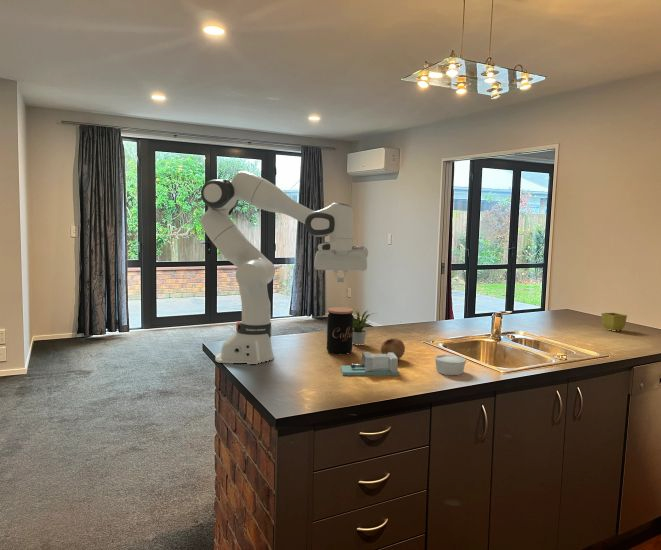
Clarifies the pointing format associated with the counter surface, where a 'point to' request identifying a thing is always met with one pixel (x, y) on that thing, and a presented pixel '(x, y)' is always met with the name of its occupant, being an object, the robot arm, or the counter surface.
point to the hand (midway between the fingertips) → (340, 281)
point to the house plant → (359, 328)
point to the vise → (360, 371)
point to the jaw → (365, 362)
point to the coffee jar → (339, 330)
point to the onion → (393, 347)
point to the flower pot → (613, 321)
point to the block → (381, 361)
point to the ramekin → (450, 364)
